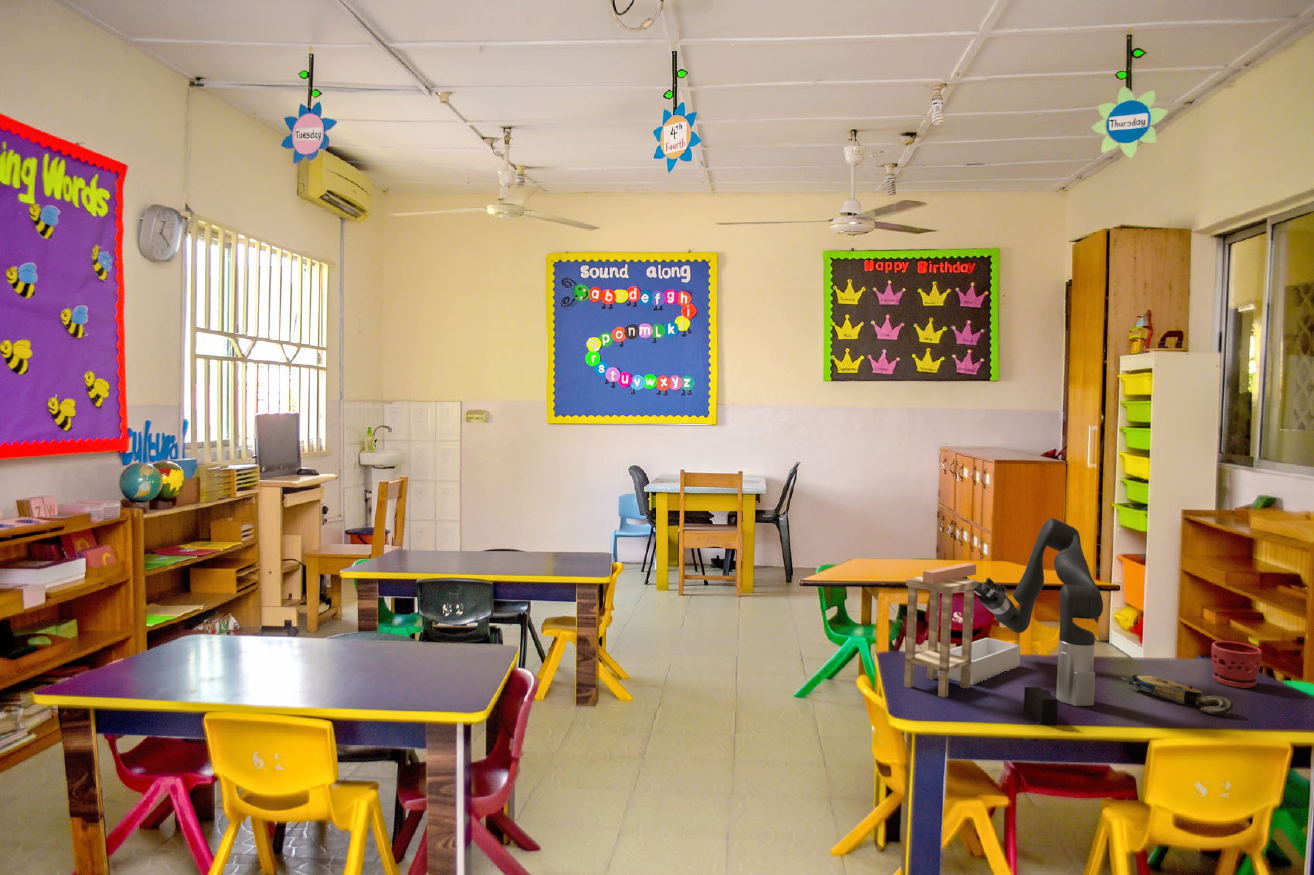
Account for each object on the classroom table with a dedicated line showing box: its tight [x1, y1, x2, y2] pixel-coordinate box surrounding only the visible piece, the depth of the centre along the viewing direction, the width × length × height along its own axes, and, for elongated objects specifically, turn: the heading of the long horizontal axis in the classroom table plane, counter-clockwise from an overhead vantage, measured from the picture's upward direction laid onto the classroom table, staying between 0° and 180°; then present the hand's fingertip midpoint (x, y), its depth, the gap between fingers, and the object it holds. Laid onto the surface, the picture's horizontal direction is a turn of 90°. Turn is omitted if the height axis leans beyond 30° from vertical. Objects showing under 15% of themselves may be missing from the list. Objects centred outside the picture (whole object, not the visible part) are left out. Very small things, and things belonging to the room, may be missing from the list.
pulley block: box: [1120, 674, 1236, 716], centre depth 255 cm, size 14×6×30 cm
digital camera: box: [1023, 686, 1059, 726], centre depth 237 cm, size 10×5×7 cm, turn 2°
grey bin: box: [936, 637, 1021, 686], centre depth 279 cm, size 32×12×7 cm, turn 133°
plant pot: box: [1210, 640, 1263, 689], centre depth 274 cm, size 13×13×12 cm
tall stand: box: [903, 575, 978, 698], centre depth 261 cm, size 16×14×32 cm
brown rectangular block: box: [922, 562, 977, 584], centre depth 264 cm, size 26×3×3 cm, turn 133°
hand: (974, 578), depth 274 cm, fingers open, 8 cm apart
